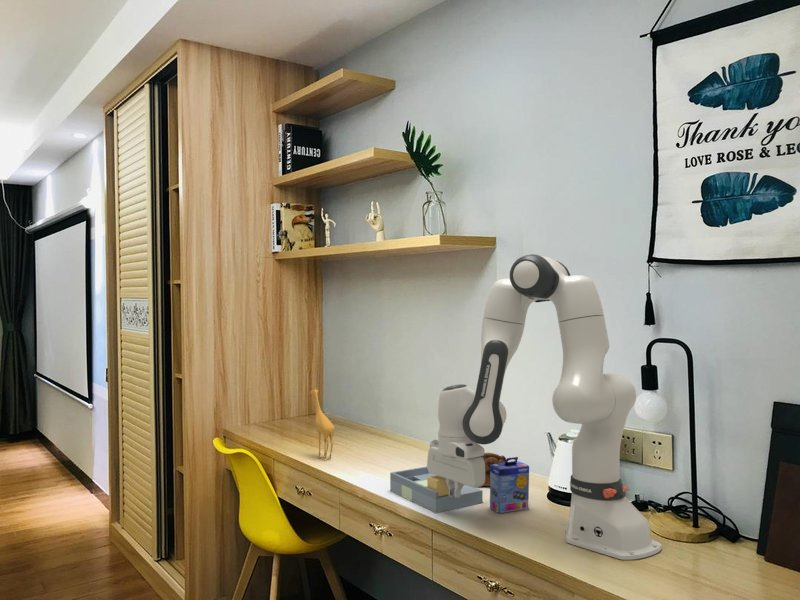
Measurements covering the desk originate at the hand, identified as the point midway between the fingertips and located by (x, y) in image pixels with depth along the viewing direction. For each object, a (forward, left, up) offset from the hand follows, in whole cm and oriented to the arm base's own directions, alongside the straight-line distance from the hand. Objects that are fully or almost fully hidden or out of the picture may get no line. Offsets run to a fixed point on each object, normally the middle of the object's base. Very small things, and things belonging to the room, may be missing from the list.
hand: (454, 496), depth 179 cm
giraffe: (+76, +4, -5) cm, 76 cm away
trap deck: (+15, -4, -4) cm, 16 cm away
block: (+6, +1, -1) cm, 6 cm away
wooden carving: (+15, -24, -5) cm, 28 cm away
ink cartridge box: (-5, -15, -5) cm, 16 cm away
